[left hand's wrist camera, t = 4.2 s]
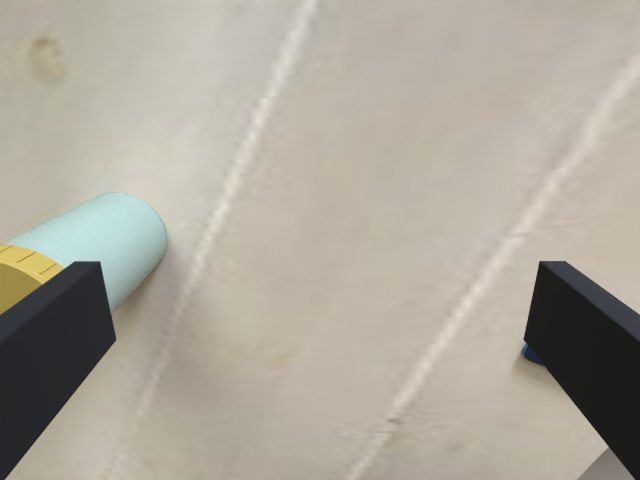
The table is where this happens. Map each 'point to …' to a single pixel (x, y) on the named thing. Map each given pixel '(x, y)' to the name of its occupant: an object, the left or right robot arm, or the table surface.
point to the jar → (104, 241)
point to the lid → (22, 273)
